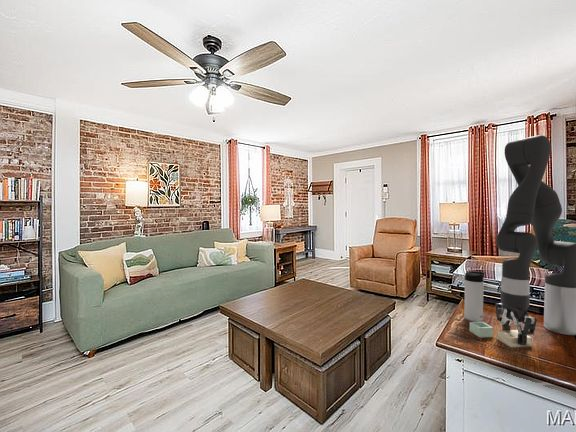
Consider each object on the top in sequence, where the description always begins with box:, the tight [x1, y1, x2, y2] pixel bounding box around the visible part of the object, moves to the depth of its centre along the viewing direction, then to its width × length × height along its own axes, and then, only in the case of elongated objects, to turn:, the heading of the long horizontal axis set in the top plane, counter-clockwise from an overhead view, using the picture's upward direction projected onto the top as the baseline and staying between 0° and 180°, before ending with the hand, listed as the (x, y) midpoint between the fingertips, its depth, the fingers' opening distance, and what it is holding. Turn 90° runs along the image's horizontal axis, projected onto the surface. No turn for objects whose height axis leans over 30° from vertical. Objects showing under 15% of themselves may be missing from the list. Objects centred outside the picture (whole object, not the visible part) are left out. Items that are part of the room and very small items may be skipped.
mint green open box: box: [469, 321, 494, 339], centre depth 99 cm, size 5×5×4 cm
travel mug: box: [463, 271, 485, 322], centre depth 111 cm, size 6×7×20 cm
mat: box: [494, 337, 534, 349], centre depth 93 cm, size 8×6×1 cm
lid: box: [496, 329, 532, 348], centre depth 93 cm, size 7×6×3 cm
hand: (513, 339), depth 93 cm, fingers closed on lid, 5 cm apart
